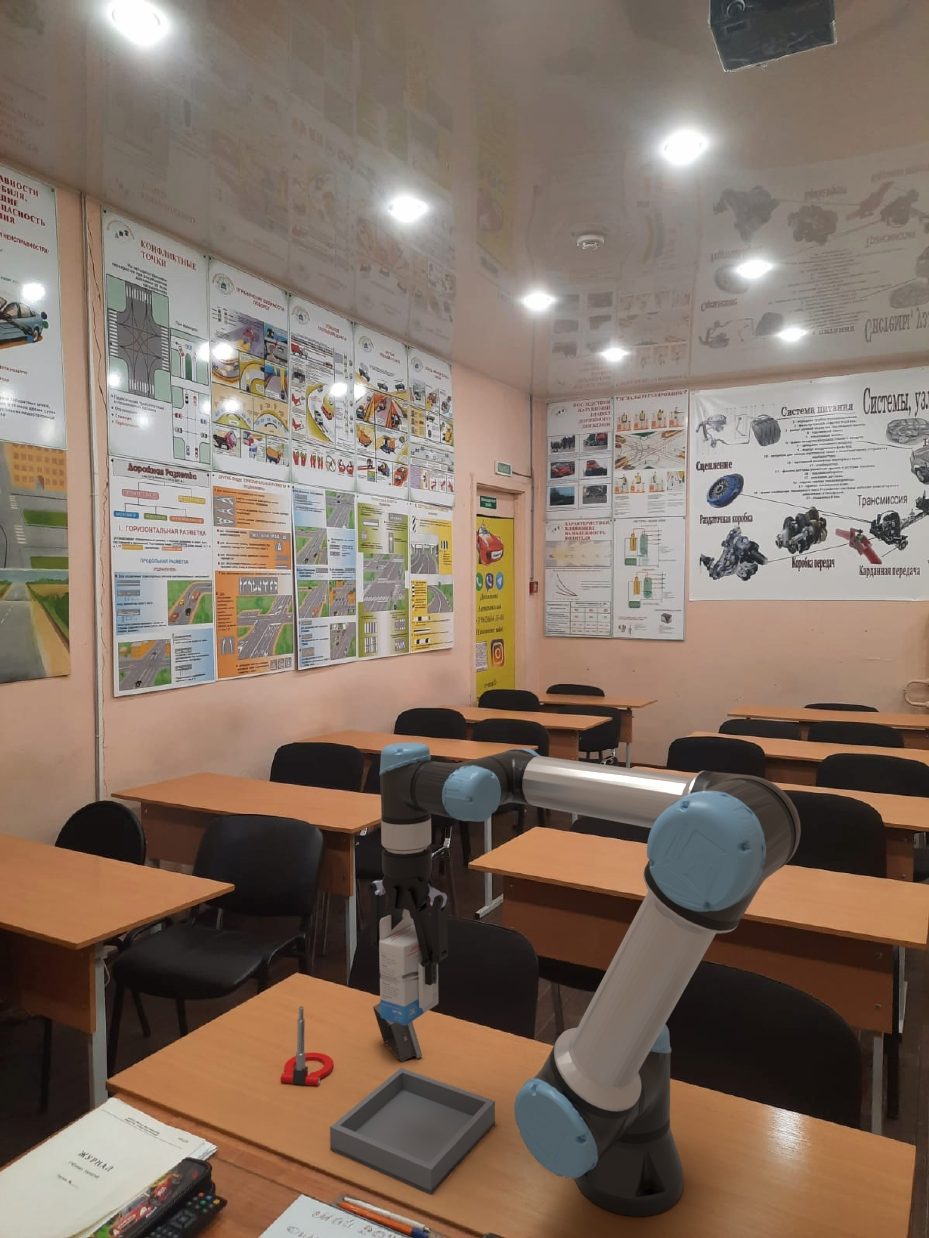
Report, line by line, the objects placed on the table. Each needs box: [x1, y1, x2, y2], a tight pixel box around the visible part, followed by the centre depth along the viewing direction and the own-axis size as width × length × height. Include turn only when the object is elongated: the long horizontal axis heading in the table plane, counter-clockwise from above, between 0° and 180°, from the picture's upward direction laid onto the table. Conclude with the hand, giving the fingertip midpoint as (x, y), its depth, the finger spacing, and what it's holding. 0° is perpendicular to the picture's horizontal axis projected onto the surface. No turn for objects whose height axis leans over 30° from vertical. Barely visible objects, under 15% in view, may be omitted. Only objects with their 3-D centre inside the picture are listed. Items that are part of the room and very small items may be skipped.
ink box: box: [378, 909, 439, 1026], centre depth 124 cm, size 9×5×15 cm, turn 145°
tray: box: [329, 1067, 496, 1196], centre depth 125 cm, size 18×18×4 cm
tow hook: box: [280, 1005, 334, 1086], centre depth 143 cm, size 8×13×9 cm
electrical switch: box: [372, 1002, 423, 1063], centre depth 149 cm, size 9×5×9 cm, turn 30°
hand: (409, 999), depth 124 cm, fingers closed on ink box, 5 cm apart
